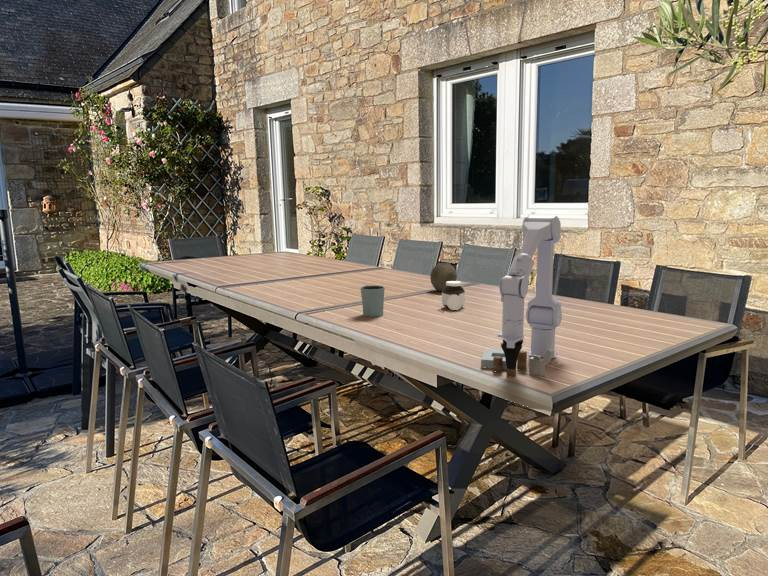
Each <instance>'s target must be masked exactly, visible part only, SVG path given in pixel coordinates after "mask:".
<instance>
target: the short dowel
mask: <svg viewBox="0 0 768 576" xmlns="http://www.w3.org/2000/svg"><path fill="white" fill-rule="evenodd" d="M502 366H503V357H500V356H495V357H493V369H492V372H494V371H496V372H495V373H497V372H500V373H502V372H503V369H502ZM501 371H502V372H501Z"/></svg>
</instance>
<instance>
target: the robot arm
mask: <svg viewBox="0 0 768 576" xmlns="http://www.w3.org/2000/svg"><path fill="white" fill-rule="evenodd" d="M521 226H522V228H521V230H522V233H523V237H524V239H523V241H522V245H521V248H520V251H519V253H518V254H516V255H515V256H514V257H513V260H512V262H511V264H510V267H509V269H508V272H507V273H506V274H507V275H505V276H503V277H502V278H501V279H500V283H499V293H500V301H501V303H502V317H501V319H502V320H501V321H502V322H501V324H502V325H501V326H502V327H501V332H499V333H497V337H498V338H501V339H502V342H501V343H500V347H501V350H503V352H504V355H505V359H506V366H507V369H515V367H516V368H517V358H518V354H519V352H520V351H522V348H523V343H524V339H525V335H524V319H525V321H526V322H527V324H528V325H529V328H531V330H530V331H531V332H530V347H529V352H528V357H529V358H531V357H533V355H539V356H541V358H544V356H545V354H546V352H547V350H548V349H553V350H554V351H555V353H554V354H553V356H552V358H551V359H556V357H557V356H556V355H557V354H556V349H555V347H556V346H555V345H556V328H558V327H559V326H561V323H562V319H563V318H562V317H563V312H562V303H561V302H560V301H559V300H558V299H557V298H555V297H554V296H553V281H554V279H553V278H554V275H553V274H554V258H555V257H554V253H555V252H554V250H555V244H557V243H560V239H561V226H562V225H561V220H560V218H559V217H558V215H553V216H552V215H551V216H549V215H529V214H528V215H525V217H524V218H523V221H522V225H521ZM536 251H537V254H536ZM535 254H536V256H537V257H536V280H535V284H536V285H535V296H534V297H532V298H531V299H529V301H528V302H527V308H526V312H525V298H526V296H527V294H528V293H529V285H530V279H529V278H530V275H531V273H532V270H533V269H534V268H533V267H534V266H535V265H534V264H535V262H534V261H535V260H533V257H534V256H535ZM524 315H525V317H524Z"/></svg>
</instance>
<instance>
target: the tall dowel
mask: <svg viewBox="0 0 768 576" xmlns="http://www.w3.org/2000/svg"><path fill="white" fill-rule="evenodd" d="M507 375H508V376H507ZM506 376H507V377H509V376H512V378H514V376H515V377H517V366H516V367H515V369H507V370H506Z"/></svg>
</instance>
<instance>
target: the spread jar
mask: <svg viewBox="0 0 768 576" xmlns="http://www.w3.org/2000/svg"><path fill="white" fill-rule="evenodd" d="M465 302H466V292H465V289H464V288H463V287H462V281H459V280H456V281H447V282H446V287H445V288H444V289H443V291H441V304H442V305H443V307H444V308H445V309H448V308H449V309H450V310H451V311H453V310H456V311H458V310H460V309H461V308H463V307H464V305H465Z"/></svg>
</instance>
